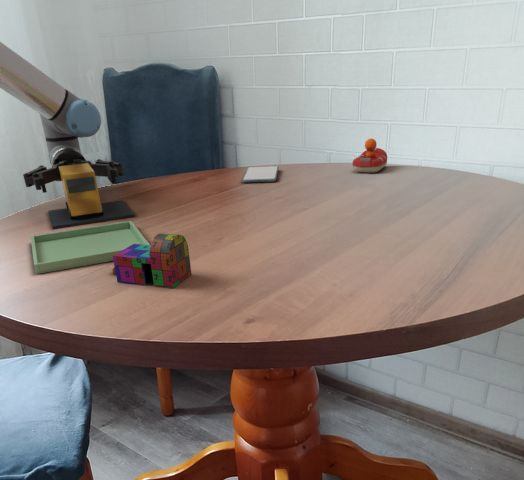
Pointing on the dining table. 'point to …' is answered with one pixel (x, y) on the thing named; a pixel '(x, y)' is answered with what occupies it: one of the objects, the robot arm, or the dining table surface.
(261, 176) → the smartphone
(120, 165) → the robot arm
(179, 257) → the block
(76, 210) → the toy van
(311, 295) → the dining table surface
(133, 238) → the box
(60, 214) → the mat
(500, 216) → the dining table surface
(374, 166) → the toy boat
